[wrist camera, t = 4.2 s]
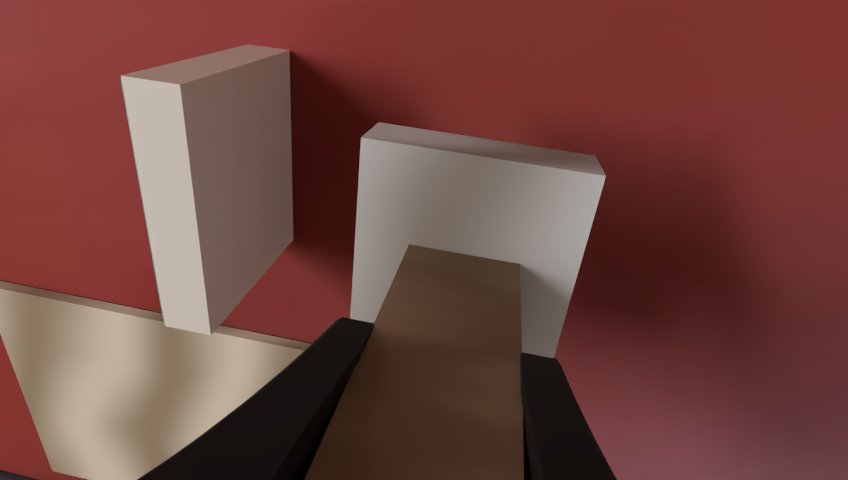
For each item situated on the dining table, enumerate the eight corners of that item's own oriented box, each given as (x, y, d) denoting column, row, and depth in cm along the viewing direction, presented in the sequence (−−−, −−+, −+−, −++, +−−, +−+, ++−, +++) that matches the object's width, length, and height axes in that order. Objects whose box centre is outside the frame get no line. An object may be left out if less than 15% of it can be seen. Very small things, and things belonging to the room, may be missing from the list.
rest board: (322, 345, 22) (318, 353, 21) (320, 525, 28) (316, 534, 27) (-9, 279, 23) (-19, 284, 23) (59, 463, 29) (52, 470, 29)
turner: (595, 155, 11) (734, 420, 4) (530, 391, 14) (544, 779, 7) (378, 122, 12) (164, 305, 5) (361, 357, 15) (216, 688, 8)
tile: (290, 50, 16) (180, 84, 11) (293, 239, 20) (210, 335, 14) (246, 43, 16) (116, 74, 11) (257, 232, 20) (162, 325, 14)
